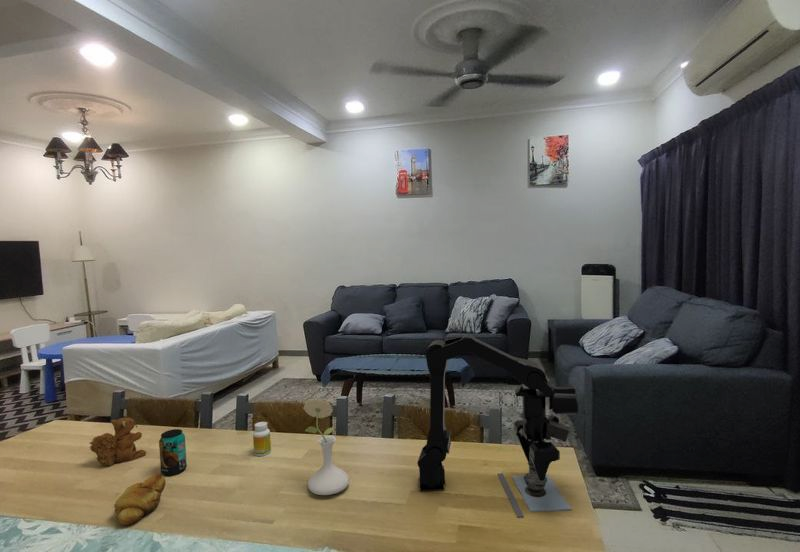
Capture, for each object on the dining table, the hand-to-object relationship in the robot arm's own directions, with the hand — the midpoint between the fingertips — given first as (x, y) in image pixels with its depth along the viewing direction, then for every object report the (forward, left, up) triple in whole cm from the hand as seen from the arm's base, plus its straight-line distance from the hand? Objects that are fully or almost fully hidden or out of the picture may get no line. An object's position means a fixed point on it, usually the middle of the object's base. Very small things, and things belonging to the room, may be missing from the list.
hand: (535, 470), depth 111 cm
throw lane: (-1, 0, -6) cm, 6 cm away
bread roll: (-103, -1, -6) cm, 104 cm away
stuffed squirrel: (-128, +29, -6) cm, 131 cm away
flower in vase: (-56, +7, -6) cm, 57 cm away
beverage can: (-105, +20, -6) cm, 107 cm away
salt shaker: (0, 0, -6) cm, 6 cm away
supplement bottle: (-81, +30, -6) cm, 87 cm away
